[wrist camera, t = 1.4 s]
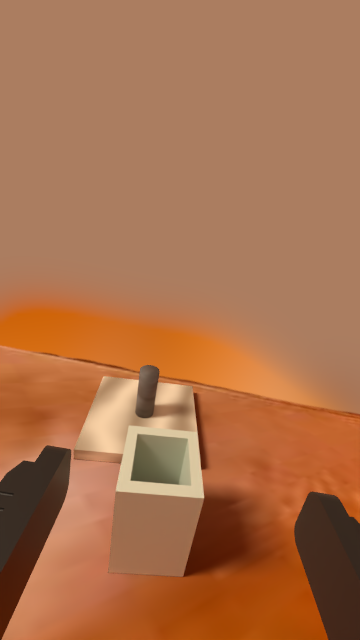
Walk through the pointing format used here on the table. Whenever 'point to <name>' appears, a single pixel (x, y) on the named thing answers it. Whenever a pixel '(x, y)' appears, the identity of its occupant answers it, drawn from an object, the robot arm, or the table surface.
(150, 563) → the cream square bin
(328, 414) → the table surface
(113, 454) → the post base
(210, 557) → the table surface
